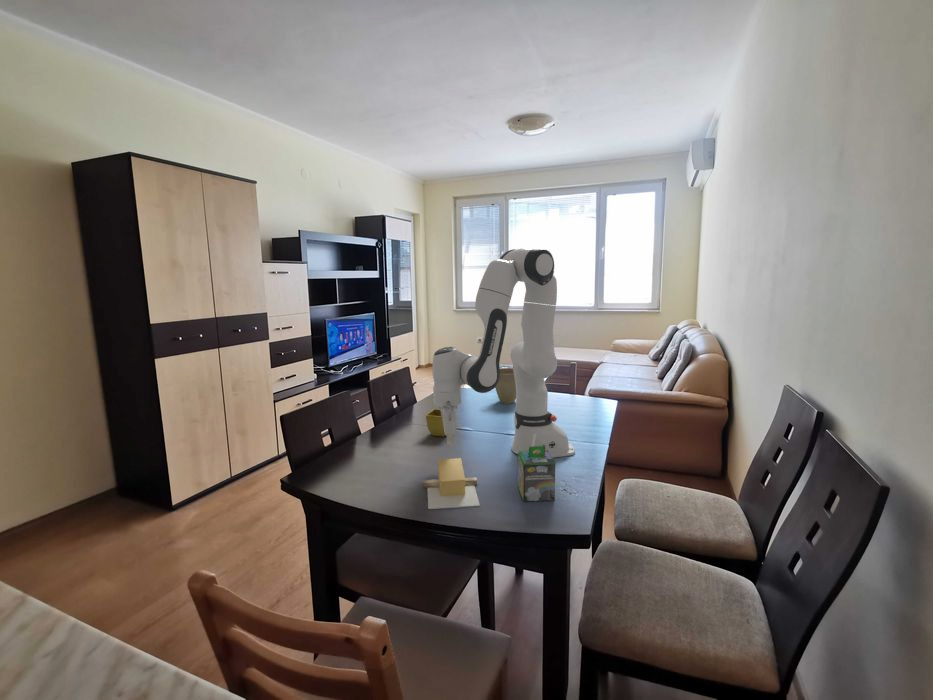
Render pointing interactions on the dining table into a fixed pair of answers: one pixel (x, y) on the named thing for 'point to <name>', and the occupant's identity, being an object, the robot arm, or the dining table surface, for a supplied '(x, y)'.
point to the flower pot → (435, 422)
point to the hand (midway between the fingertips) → (449, 438)
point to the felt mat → (452, 499)
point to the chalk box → (536, 474)
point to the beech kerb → (436, 484)
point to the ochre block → (451, 477)
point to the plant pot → (506, 386)
